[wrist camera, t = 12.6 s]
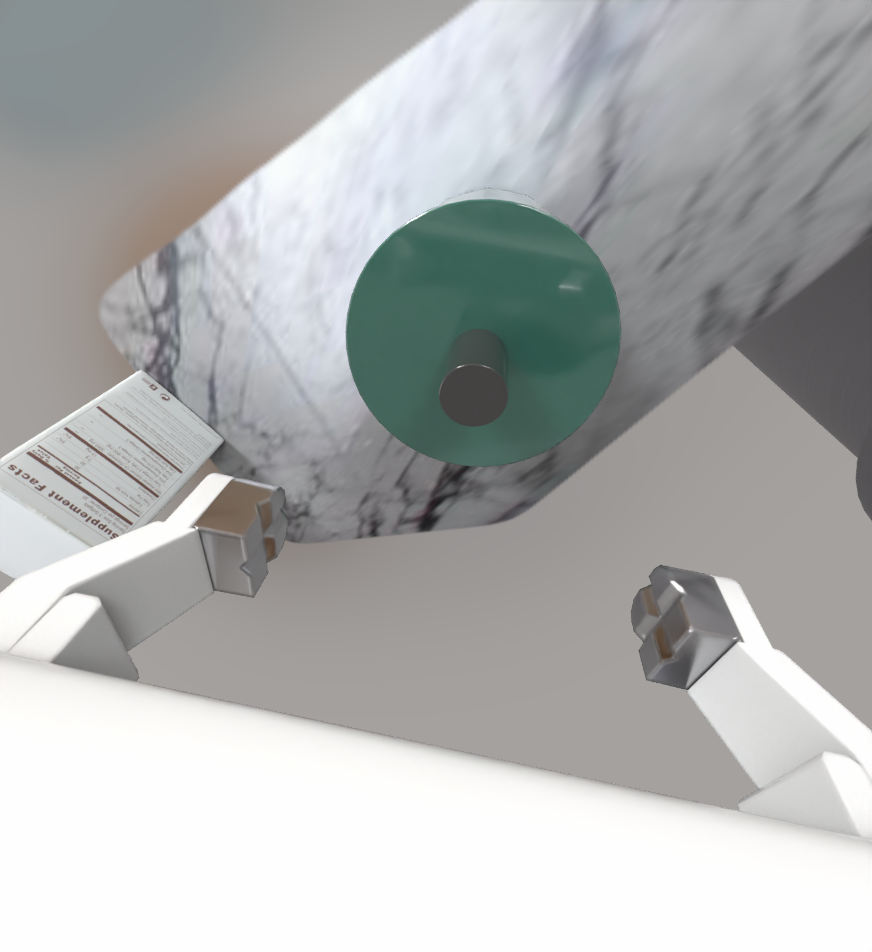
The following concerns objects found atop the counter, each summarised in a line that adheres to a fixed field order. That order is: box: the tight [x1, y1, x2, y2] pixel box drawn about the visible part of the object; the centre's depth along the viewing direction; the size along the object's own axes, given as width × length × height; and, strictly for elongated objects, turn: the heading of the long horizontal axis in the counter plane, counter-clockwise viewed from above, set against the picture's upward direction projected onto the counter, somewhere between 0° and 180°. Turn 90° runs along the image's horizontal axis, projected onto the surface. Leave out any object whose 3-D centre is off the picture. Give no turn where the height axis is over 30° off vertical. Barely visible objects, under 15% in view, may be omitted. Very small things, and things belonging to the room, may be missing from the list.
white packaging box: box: [0, 370, 224, 579], centre depth 29 cm, size 7×7×13 cm
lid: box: [346, 197, 621, 467], centre depth 17 cm, size 11×11×5 cm
